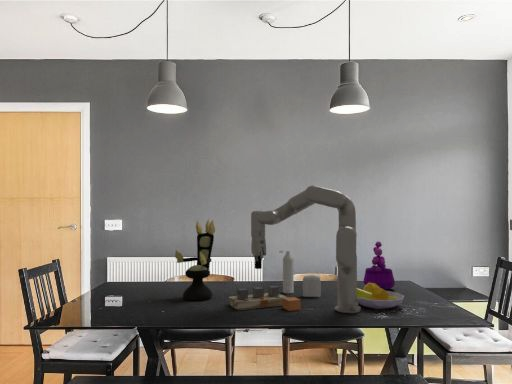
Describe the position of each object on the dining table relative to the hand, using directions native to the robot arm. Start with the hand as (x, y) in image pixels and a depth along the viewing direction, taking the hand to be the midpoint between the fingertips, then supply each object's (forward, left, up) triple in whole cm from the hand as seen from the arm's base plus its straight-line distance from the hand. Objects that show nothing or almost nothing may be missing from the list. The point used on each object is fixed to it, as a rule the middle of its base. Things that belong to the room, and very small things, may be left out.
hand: (258, 268), depth 214 cm
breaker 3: (0, -9, -16) cm, 18 cm away
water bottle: (+21, -28, -19) cm, 40 cm away
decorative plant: (+5, -85, -19) cm, 87 cm away
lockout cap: (-15, -12, -19) cm, 27 cm away
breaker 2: (0, 0, -16) cm, 16 cm away
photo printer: (+5, -36, -19) cm, 41 cm away
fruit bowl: (-27, -55, -19) cm, 64 cm away
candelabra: (+30, +24, -19) cm, 43 cm away
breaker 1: (0, +9, -16) cm, 18 cm away
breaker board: (0, 0, -19) cm, 19 cm away
